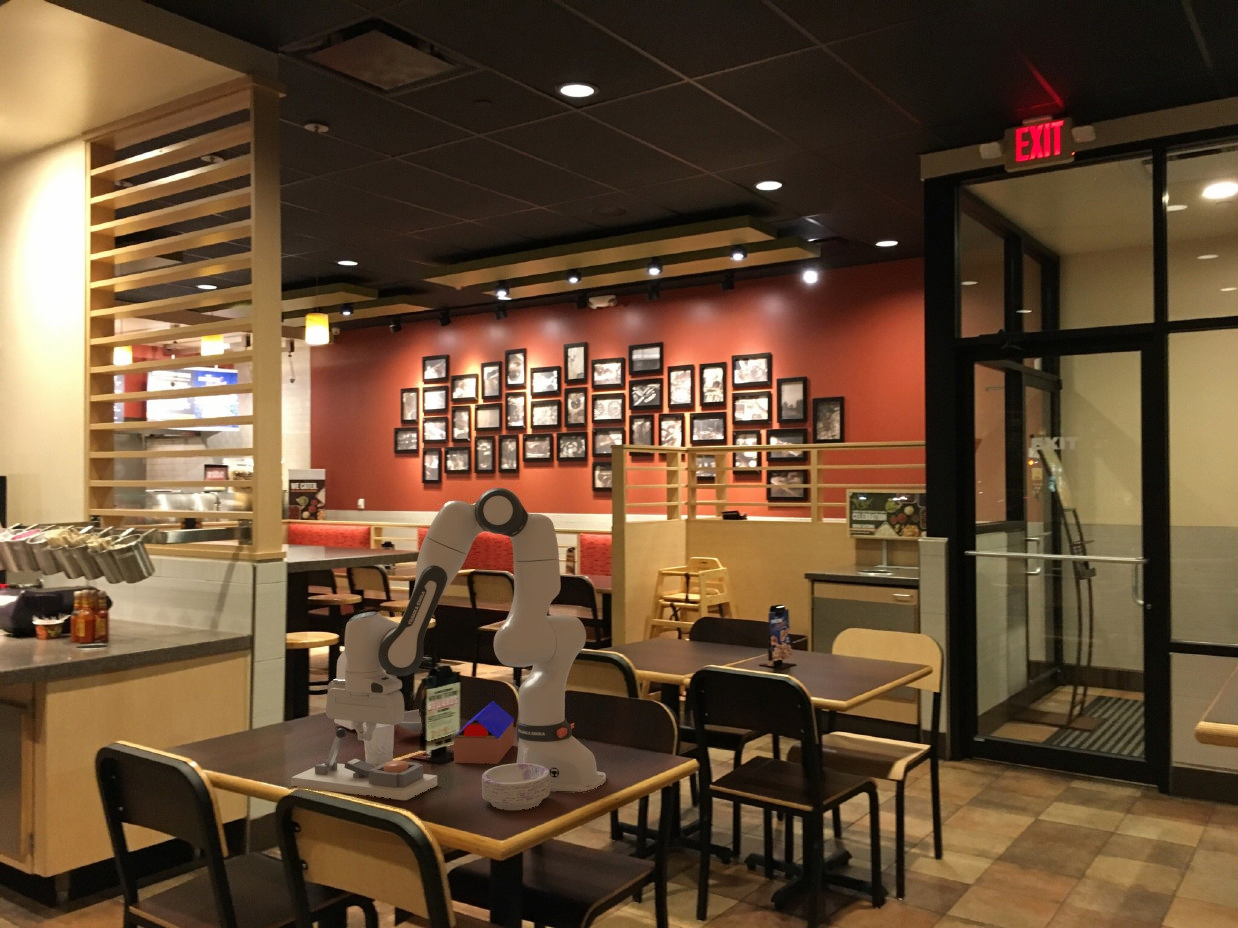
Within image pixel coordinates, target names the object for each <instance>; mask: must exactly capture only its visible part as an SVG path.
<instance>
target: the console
mask: <svg viewBox="0 0 1238 928" xmlns="http://www.w3.org/2000/svg"><path fill="white" fill-rule="evenodd" d="M388 762H390V761H388ZM407 762H408V769H407V770H405V771H403V772H401V773H396V772H388V771H384V764H385V763H387V762H385V763H383V764H381V765H376V766H377V767H375V768H373V769H371V770H369V775H368V776H364V775H362V774H359V773H357V772H354V771H351V770H349V769H346V768H344V767H345V763H338V761H337V760H335V761H334V763H333V766H332V769H331V770H329V771H328V765H325V763H326V760H324V763H322V764H320V763H319V764H318V763H317V764H315V765H314V767H312V768H310V769H309V768H308V769H307V770H305V771H303V772H300V773H298V774H296V775H294V776H291V777H290V778H291V780H290V781H291V784H290V785H291V787H294V786H297V787H296V788H302V789H303V788H304V789H310V788H311V790H318V791H326V790H327V791H328V792H334V793H335V792H336V793H343V794H350V795H351V794H352V795H358V794H359V795H360V796H366V795H370V796H369V797H374V796H376V798H381V797H384V798H383V799H389V798H391V799H392V800H398V801H399V800H400V801H405V800H406V801H408V800H410V799H412V798H415V797H416V796H418V795H421V794H422V792H423V793H424V792H427V791H429V790H430V788H431V789H432V788H435V787H437V786H438V775H436V774H435V775H434V774H428V773H424V765H423V764H420V763H419V762H410V761H407ZM321 789H322V790H321ZM428 789H429V790H428ZM420 793H421V794H420ZM371 795H372V796H371ZM415 795H416V796H415Z"/></svg>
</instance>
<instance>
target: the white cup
mask: <svg viewBox="0 0 1238 928" xmlns="http://www.w3.org/2000/svg"><path fill="white" fill-rule="evenodd" d="M363 729H364V731H367V729H368V727H366V722H365V723H363ZM394 741H395V725H387V724H378V723H376V727H375V729H374V730H373V732H372V740H370V741H363V743H364V752H365V753H364V754H365V756H364V757H365V762H367V763H369V764H372V765H375V766H379V765H381V764H383V763H385V762H388V761H394V759H393V758H394V752H393V751H394Z"/></svg>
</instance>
